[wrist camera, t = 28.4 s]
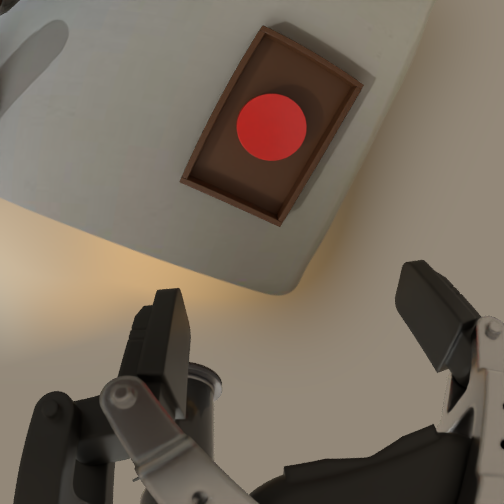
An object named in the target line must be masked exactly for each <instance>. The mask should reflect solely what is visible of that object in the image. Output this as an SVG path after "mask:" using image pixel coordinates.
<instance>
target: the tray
mask: <svg viewBox="0 0 504 504" xmlns="http://www.w3.org/2000/svg"><path fill="white" fill-rule="evenodd" d="M363 86H364V85H363V84H362V83H360V82H359V81H357V80H356V79H355V78H353V77H352V76H350V75H349V74H347V73H346V72H344V71H343V70H341V69H340V68H338V67H337V66H335V65H334V64H332V63H330V62H329V61H327V60H326V59H324V58H322V57H321V56H319V55H317V54H316V53H314V52H312V51H311V50H309V49H307V48H305V47H304V46H302V45H300V44H298V43H297V42H295V41H293V40H291V39H289V38H287V37H285V36H283V35H281V34H280V33H278V32H276V31H274V30H272V29H269V28H267V27H265V26H262V27H261V29H260V30H259V32H258V33H257V35H256V36H255V38H254V40H253V41H252V43H251V45H250V46H249V48H248V50H247V51H246V53H245V55H244V56H243V58H242V60H241V61H240V63H239V65H238V67H237V68H236V70H235V72H234V74H233V75H232V77H231V79H230V81H229V83H228V84H227V86H226V88H225V90H224V92H223V94H222V95H221V97H220V99H219V101H218V103H217V105H216V107H215V109H214V111H213V113H212V115H211V116H210V118H209V120H208V122H207V124H206V126H205V128H204V130H203V132H202V134H201V136H200V139H199V141H198V143H197V145H196V147H195V149H194V151H193V153H192V155H191V157H190V160H189V162H188V164H187V166H186V168H185V171H184V173H183V175H182V177H181V179H180V183H183V184H185V185H187V186H190V187H192V188H194V189H196V190H199V191H201V192H203V193H206V194H208V195H210V196H212V197H215V198H217V199H219V200H222V201H224V202H226V203H228V204H230V205H233V206H235V207H237V208H239V209H242V210H244V211H246V212H248V213H250V214H253V215H255V216H257V217H259V218H261V219H264V220H266V221H268V222H270V223H272V224H274V225H277V226H279V227H280V226H281V225H282V223H283V221H284V220H285V218H286V216H287V215H288V213H289V211H290V210H291V208H292V206H293V205H294V203H295V201H296V200H297V198H298V196H299V195H300V193H301V191H302V189H303V188H304V186H305V184H306V183H307V181H308V179H309V178H310V176H311V174H312V173H313V171H314V169H315V168H316V166H317V164H318V163H319V161H320V159H321V158H322V156H323V154H324V152H325V151H326V149H327V147H328V146H329V144H330V142H331V141H332V139H333V137H334V135H335V134H336V132H337V130H338V129H339V127H340V125H341V124H342V122H343V120H344V118H345V117H346V115H347V113H348V112H349V110H350V108H351V106H352V105H353V103H354V101H355V100H356V98H357V96H358V94H359V93H360V91H361V89H362V88H363ZM263 94H280V95H283V96H286V97H289V98H290V99H291V100H293V101H294V102H295V103H296V104H297V105H298V106H299V107H300V108H301V110H302V112H303V114H304V116H305V119H306V126H307V128H306V136H305V138H304V141H303V143H302V145H301V146H300V147H299V149H298V150H297V151H296V152H295V153H293V154H292V155H290V156H289V157H287V158H284V159H281V160H276V161H268V160H262V159H259V158H257V157H255V156H253V155H251V154H250V153H249V152H248V151H247V150H246V149H245V148H244V147H243V146H242V144H241V142H240V140H239V137H238V134H237V129H236V122H237V117H238V114H239V112H240V110H241V109H242V107H243V106H244V105H245V104H246V103H247V102H248V101H249V100H251V99H252V98H254V97H256V96H259V95H263Z"/></svg>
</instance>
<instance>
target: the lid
mask: <svg viewBox="0 0 504 504" xmlns="http://www.w3.org/2000/svg"><path fill="white" fill-rule="evenodd" d="M306 128H307V126H306V119H305V116H304V114H303V112H302V110H301V108H300V107H299V106H298V105H297V104H296V103H295V102H294V101H293V100H291V99H290V98H289V97H286V96H283V95H280V94H263V95H259V96H256V97H254V98H252V99H251V100H249V101H248V102H247V103H246V104H245V105H244V106H243V107H242V109H241V110H240V112H239V114H238V117H237V122H236V129H237V134H238V137H239V140H240V142H241V144H242V146H243V147H244V148H245V149H246V150H247V151H248V152H249V153H250V154H251V155H253V156H255V157H257V158H259V159H262V160H268V161H276V160H281V159H284V158H287V157H289V156H290V155H292V154H293V153H295V152H296V151H297V150H298V149H299V147H300V146H301V145H302V143H303V141H304V138H305V136H306Z"/></svg>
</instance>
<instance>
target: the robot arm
mask: <svg viewBox="0 0 504 504" xmlns="http://www.w3.org/2000/svg"><path fill="white" fill-rule="evenodd" d="M395 304H396V308H397V311H398V312H399V314H400V315H401V317H402V318H403V320H404V321H405V323H406V324H407V326H408V327H409V329H410V330H411V332H412V333H413V335H414V336H415V338H416V339H417V341H418V343H419V344H420V346H421V347H422V349H423V351H424V352H425V353H426V355H427V357H428V359H429V360H430V362H431V363H432V365H433V367H434V368H435V370H436V371H437V373H438V372H441V371H444V370H446V369H449V370H450V371H451V373H450V374H449V376H448V379H447V385H446V393H445V399H444V406H443V411H442V416H441V420H440V423H439V425H438V427H437V428H435V426H434V424H432V425H430V426H428V427H425V428H423V429H420V430H418V431H415V432H413V433H410V434H408V435H405V436H402V437H401V438H400V439H398V440H397V441H395V442H393V443H392V444H390V445H389V446H387V447H386V448H384V449H382V450H381V451H379V452H378V453H376V454H375V455H372V456H371V457H367V458H346V459H322V460H318V461H313V462H308V463H302V464H296V465H290V466H285V467H284V474H283V475H281V476H279V477H276V478H274V479H272V480H270V481H268V482H266V483H264V484H263V485H262V486H259V487H258V488H257V489H255V490H254V491H253V492H251V493H250V494H249V495H248V494H247V493H246V492H245V491H244V490H243V489H242V488H241V487H240V486H239V485H237V484H236V483H235V482H234V481H233V480H232V479H231V478H230V477H229V476H228V475H227V474H226V473H225V472H224V471H223V470H222V469H221V468H220V467H219V466H218V465H217V464H216V463H215V462H214V394H215V390H214V387H213V385H212V384H211V383H210V382H209V381H208V380H207V379H205V378H203V377H201V376H198V375H195V374H190V373H188V366H189V351H190V339H191V335H190V326H189V321H188V317H187V314H186V309H185V305H184V302H183V298H182V294H181V291H180V289H179V288H174V289H162V290H157V292H156V295H155V299H154V302H153V305H149V306H143V308H142V309H141V310H140V311H139V312H138V314H137V315H136V316H135V318H134V322H133V325H132V330H131V331H130V335H129V340H128V342H127V345H126V349H125V353H124V356H123V359H122V363H121V367H120V371H119V374H118V377H117V378H115V379H113V380H111V381H110V382H108V383H107V384H106V385H105V386H104V388H103V389H102V391H101V394H100V395H98V396H95V397H91V398H87V399H82V400H78V401H73V400H72V399H71V398H70V397H69V396H68V395H67V394H65V393H63V392H59V391H54V392H50V393H48V394H46V395H44V396H43V397H42V398H41V399H40V400H39V401H38V402H37V404H36V406H35V409H34V412H33V415H32V418H31V422H30V425H29V429H28V433H27V437H26V441H25V445H24V449H23V453H22V458H21V462H20V467H19V472H18V478H17V484H16V489H15V496H14V503H13V504H113V485H114V468H115V462H116V461H121V460H125V459H130V458H131V460H132V461H133V463H134V465H135V471H136V473H137V475H138V477H137V478H135V479H134V480H133V482H134V481H137V480H139V479H140V480H141V481H142V482H143V484H144V485H145V487H146V488H145V489H144V491H143V493H142V496H141V500H140V504H504V323H503V322H501V321H500V320H499V319H497V318H495V317H492V316H484V317H481V316H480V315H479V313H478V312H477V311H476V310H475V309H474V308H473V307H472V305H471V304H470V303H469V302H468V301H467V300H466V299H465V298H464V297H463V295H462V294H460V293H459V291H458V290H457V289H456V288H455V287H453V285H452V284H451V283H450V282H449V280H447V278H446V277H444V276H442V275H441V274H439V273H437V272H436V271H434V270H433V269H432V268H431V267H430V266H429V265H428V264H427V263H426V262H425V261H424V260H418V261H412V262H406V263H404V265H403V267H402V270H401V275H400V279H399V284H398V287H397V291H396V296H395Z"/></svg>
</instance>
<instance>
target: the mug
mask: <svg viewBox="0 0 504 504" xmlns="http://www.w3.org/2000/svg"><path fill="white" fill-rule="evenodd" d="M18 1H20V0H0V15H2V14H4V13H6V12H7V11H8V10H10V9H11V8H12V7H13V6H14V5H15V4H16V3H17V2H18Z"/></svg>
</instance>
